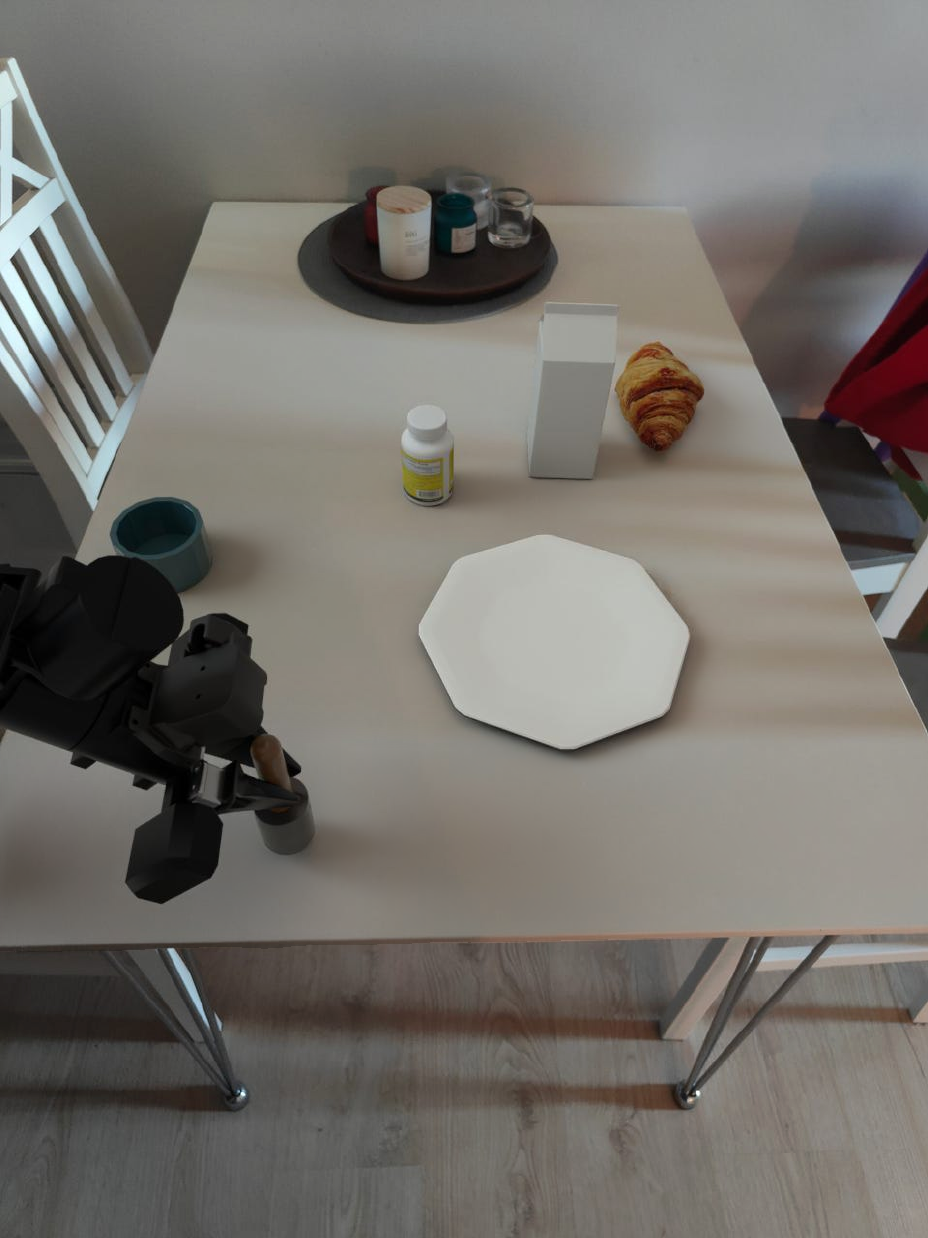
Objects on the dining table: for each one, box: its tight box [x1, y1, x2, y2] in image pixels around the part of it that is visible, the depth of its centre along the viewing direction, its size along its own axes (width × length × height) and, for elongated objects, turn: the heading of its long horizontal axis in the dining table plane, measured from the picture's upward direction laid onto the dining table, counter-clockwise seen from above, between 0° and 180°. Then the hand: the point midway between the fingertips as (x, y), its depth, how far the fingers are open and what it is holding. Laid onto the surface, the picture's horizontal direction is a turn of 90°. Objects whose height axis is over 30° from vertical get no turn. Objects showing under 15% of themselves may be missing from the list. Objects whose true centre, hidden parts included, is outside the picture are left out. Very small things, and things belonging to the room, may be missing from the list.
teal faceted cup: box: [109, 496, 213, 594], centre depth 82 cm, size 8×8×5 cm
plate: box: [418, 534, 691, 751], centre depth 79 cm, size 24×24×2 cm
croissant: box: [614, 340, 705, 453], centre depth 101 cm, size 21×10×8 cm, turn 175°
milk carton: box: [526, 301, 620, 480], centre depth 89 cm, size 7×7×19 cm
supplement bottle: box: [400, 404, 455, 507], centre depth 88 cm, size 5×5×10 cm
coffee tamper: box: [250, 733, 316, 856], centre depth 60 cm, size 4×4×13 cm
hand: (296, 787), depth 60 cm, fingers closed on coffee tamper, 2 cm apart
